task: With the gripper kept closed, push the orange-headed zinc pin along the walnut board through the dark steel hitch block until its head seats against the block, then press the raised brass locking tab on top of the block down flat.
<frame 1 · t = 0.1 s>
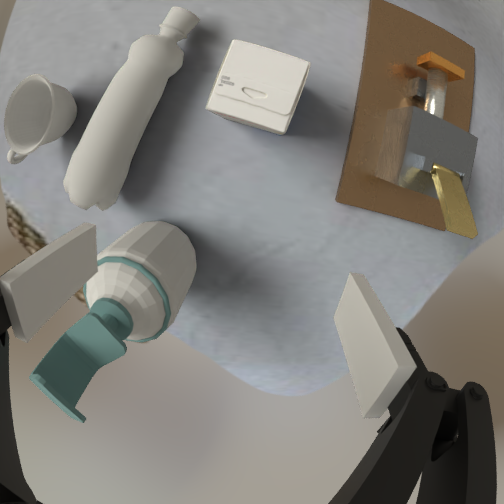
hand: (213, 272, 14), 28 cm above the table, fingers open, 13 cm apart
soap bottle: (164, 251, 44), on the table
bottle: (142, 108, 36), on the table
hitch block: (409, 153, 36), on the table
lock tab: (453, 197, 25), point 13 cm above the table, hinge at 50.0°
lynch pin: (436, 104, 28), point 6 cm above the table, slide at 0.0 cm
ink box: (261, 99, 35), on the table
teacup: (61, 120, 36), on the table
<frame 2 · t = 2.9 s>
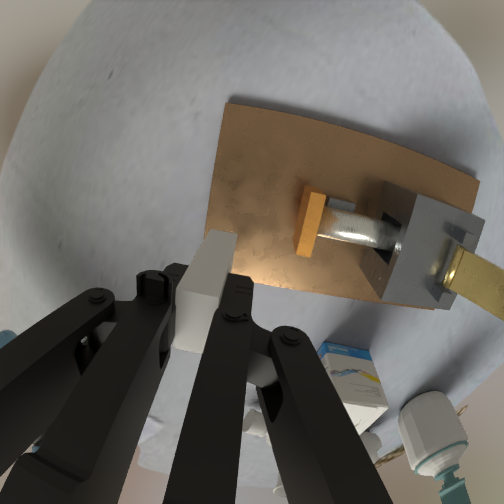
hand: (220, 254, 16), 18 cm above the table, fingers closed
soap bottle: (419, 403, 46), on the table
bottle: (316, 423, 48), on the table
hitch block: (402, 230, 33), on the table
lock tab: (484, 283, 20), point 13 cm above the table, hinge at 50.0°
lynch pin: (363, 231, 27), point 5 cm above the table, slide at 0.0 cm
ink box: (334, 364, 42), on the table
teacup: (302, 456, 54), on the table
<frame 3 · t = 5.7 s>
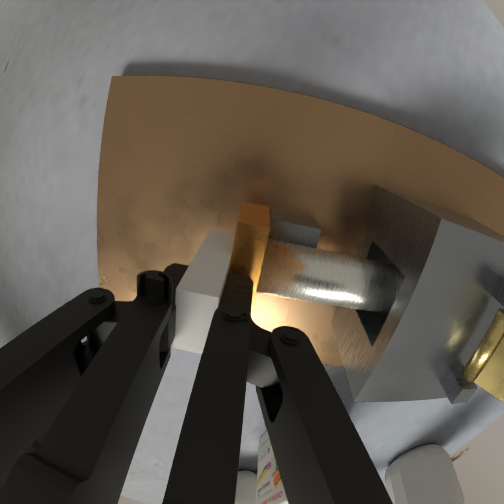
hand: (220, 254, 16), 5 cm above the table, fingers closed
soap bottle: (412, 455, 34), on the table
bottle: (285, 477, 36), on the table
hitch block: (404, 265, 21), on the table
lynch pin: (350, 286, 15), point 6 cm above the table, slide at 1.2 cm, touching gripper
ink box: (301, 429, 30), on the table
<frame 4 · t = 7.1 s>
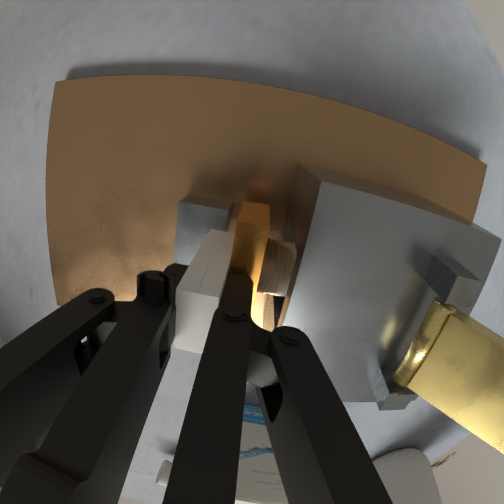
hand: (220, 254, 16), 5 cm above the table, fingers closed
soap bottle: (390, 459, 34), on the table
hitch block: (344, 251, 20), on the table
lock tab: (485, 385, 8), point 13 cm above the table, hinge at 50.0°
lynch pin: (351, 285, 15), point 5 cm above the table, slide at 6.7 cm, touching gripper
ink box: (258, 425, 29), on the table
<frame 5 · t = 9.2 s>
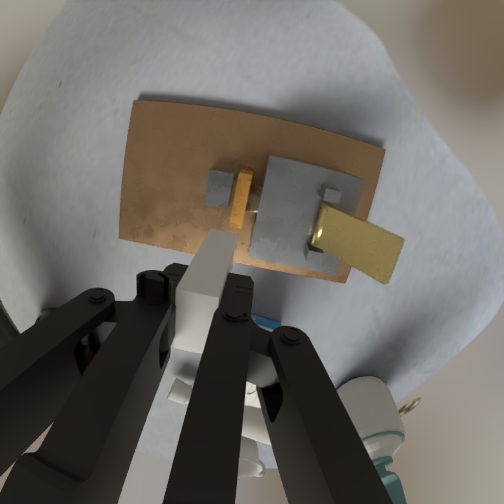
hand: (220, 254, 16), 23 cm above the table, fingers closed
soap bottle: (357, 389, 51), on the table
bottle: (245, 399, 53), on the table
hitch block: (296, 200, 38), on the table
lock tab: (353, 240, 25), point 13 cm above the table, hinge at 50.0°
lynch pin: (293, 208, 32), point 6 cm above the table, slide at 6.7 cm
ink box: (248, 333, 46), on the table
teacup: (242, 436, 59), on the table
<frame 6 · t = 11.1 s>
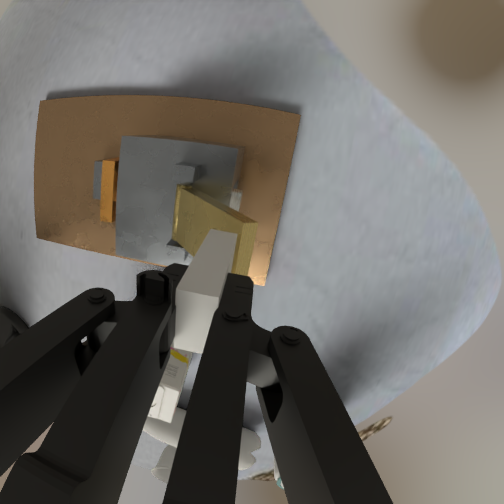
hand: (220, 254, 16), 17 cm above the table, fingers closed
bottle: (183, 409, 47), on the table
hitch block: (193, 187, 32), on the table
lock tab: (205, 229, 19), point 13 cm above the table, hinge at 50.0°, touching gripper
lynch pin: (170, 195, 26), point 5 cm above the table, slide at 6.7 cm
ink box: (167, 339, 40), on the table
teacup: (192, 445, 53), on the table
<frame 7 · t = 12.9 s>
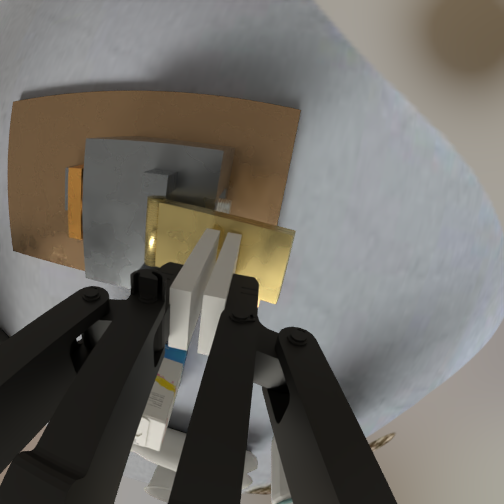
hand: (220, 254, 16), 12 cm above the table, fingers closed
soap bottle: (307, 427, 41), on the table
bottle: (175, 429, 43), on the table
hitch block: (176, 195, 27), on the table
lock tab: (210, 247, 17), point 11 cm above the table, hinge at 13.9°, touching gripper
lynch pin: (146, 207, 22), point 6 cm above the table, slide at 6.7 cm
ink box: (154, 360, 36), on the table
teacup: (186, 462, 48), on the table
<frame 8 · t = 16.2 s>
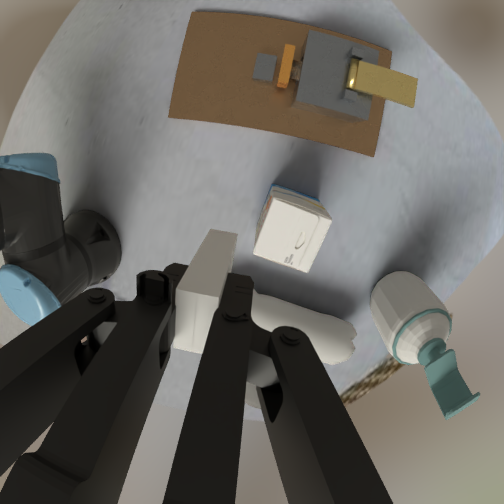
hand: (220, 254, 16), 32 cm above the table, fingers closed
soap bottle: (392, 292, 53), on the table
bottle: (279, 306, 55), on the table
hitch block: (326, 84, 39), on the table
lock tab: (382, 82, 29), point 11 cm above the table, hinge at 13.7°
lynch pin: (327, 76, 34), point 6 cm above the table, slide at 6.7 cm
ink box: (286, 213, 48), on the table
teacup: (273, 361, 61), on the table
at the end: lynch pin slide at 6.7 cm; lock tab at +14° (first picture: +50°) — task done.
